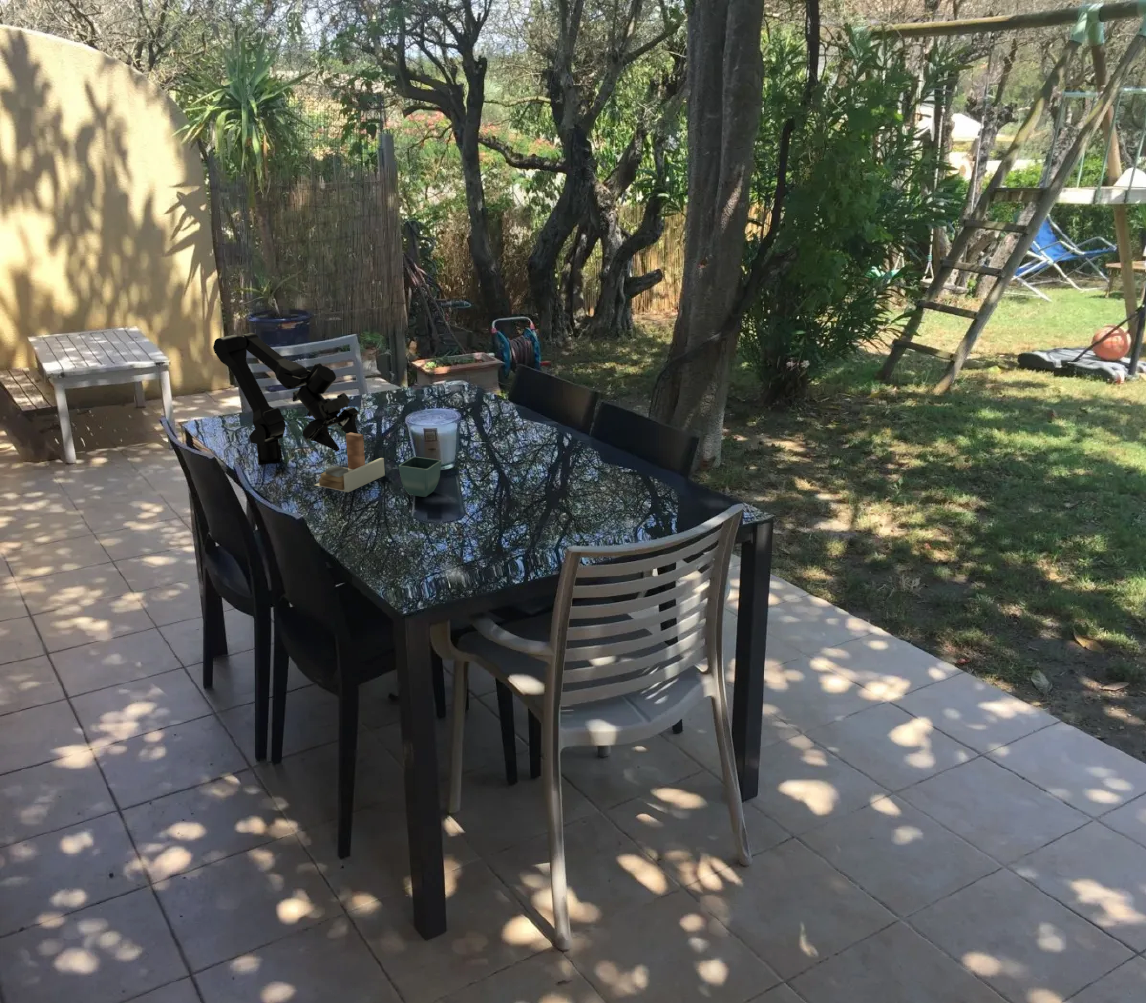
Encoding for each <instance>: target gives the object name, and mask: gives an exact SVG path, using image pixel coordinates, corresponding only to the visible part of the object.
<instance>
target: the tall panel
mask: <svg viewBox="0 0 1146 1003" xmlns="http://www.w3.org/2000/svg"><path fill="white" fill-rule="evenodd" d="M345 441H346V442H345V443H346V454H347V468H349V469H356V468H358V467H361V466H363V465H365V464H366V458H365V443H364V434H361V433H358V434H357V433H351V432H350V433H348V434H346V433H345Z"/></svg>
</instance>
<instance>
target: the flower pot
mask: <svg viewBox="0 0 1146 1003" xmlns="http://www.w3.org/2000/svg"><path fill="white" fill-rule="evenodd" d="M441 467H442V460H441V459H436V458H428V457H422V456H421V457H419V456H412V457H410V458H408V459H407V460H405V461H404V462H402V463H400V464H399V465H398V470H399V476H400V481H401V484H402V486H403V488H404V490H405V491H406V492H407V494H408V495H410V496H413V497H420V498H421V497H423V498H426V497H428V496H429V495H430V494H432V493H433V492H434V491H435V489H436V488H437V485H438V484H439V481H440V477H441Z"/></svg>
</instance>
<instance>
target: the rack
mask: <svg viewBox="0 0 1146 1003" xmlns="http://www.w3.org/2000/svg"><path fill="white" fill-rule="evenodd" d="M342 467H343V466H342ZM343 468H346V469H348V472H347V473H345V474H343V475H344V487H345V489H344V490H339V489H335V488H330V487H325V486H320V485H319V482H318V483H315V484H314V486H315V487H321V488H325V489H330V490H336V491H340V492H344V493H350V492H353V491H354V490H356V489H358V488H361V487H363V486H365V485H367V484H369V483H371V482H374V481H375V480H378V479H380V478H382V477H385V476H386V474H385V471H386V470H385V458H384V457H380V458H377V459H375V460H373V461H370V462H368V463H365V465H363V466H361V467H358V468H356V469H349V468H348V467H343Z"/></svg>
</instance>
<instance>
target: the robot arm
mask: <svg viewBox="0 0 1146 1003" xmlns="http://www.w3.org/2000/svg"><path fill="white" fill-rule="evenodd" d="M212 349H213V352H214V354H215V355H216V357H217V358H218V360H219V362H221V363H222V364H224V365H225V366H226V367H228V368H229V370H230V371H231V372H232V374H233V377H234V378H235V379H236V383H237V384H238V386H239V388H240V390H241V392H242V393H243V395H244V397H245V399H246V401H247V403H248V405H249V407H250V409H251V411H252V413H253V414H252V424H253V427H254V429H253V431H252V432H251V433H250V434H249V436H248V438H249V441H250V443H251V444H255V445H256V450H257V452H256V453H257V462H258V465H263V464H273V463H274V464H275V463H281V462H282V460H281V459H282V458H283V452H282V445H281V443H280V442H279V440H280V439H283V438H284V435H285V434H284V433H285V431H286V428H287V424H286V422H285V421H286V418H285V417H284V416H283V415H282V411H281V409H280V408H279V407H275V408H273V407H272V406H271V405H270V404H269V402H268V401H267V399H266V397H265V395H264V393H263V390H262V389H261V387H260V385H259V384H258V381H257V379H256V377H255V375H254V374H253V372H252V370H251V368H250V366H249V364H248V362H247V357H248V356H247V355H248V353H250V354H251V355H252V356H253V357H255V358H256V359H257V360H258V361H260V362H261V363H262V364H263V365H265V366H266V367H267V368H268V369H269V370H271V371H272V372H273V373H274V375H275V378H276V380H277V381H278V382H279V384H280V385H282V387H283V388H285V389H286V390H292V389H296V388H298V390H295V391H293V392H292V402H293V403H295V402H297V401H300V403H301V404H302V405H303V406H304V407H305V409H306V410H307V411H308V412H307V417H309V418H310V417H313V419H314V420H310V421H309V422H308V423H307V424H306V426H305V427H304V428H303V429H302V436H303V438H304V439H305V440H306V441H309V440H310V442H315V443H318V444H320V445H323V446H325V447H327V448H329V449H331V450H333V451H335V452H339V451H340V447H339V445H338V444H337V443H336V441H335V439H334V438H333V437H332V435H331V434H330V433H329V427H332V426H335V425H338V427H340V429H341V430H342V432H344V433H345V435H346V434H348V433H350V432H351V433H357V434H359V432H358V428H357V423H356V421H357V419H358V415H359V413H360V412H359V411H358V409H357V408H356V407H354V406H350V407H349V403H351V402H350V401H351V400H350V398H349V396H348V395H347V394H346V393H345V392H343V393H340V394H337V396H336V398H334V399H333V400H331V398H325V397H324V396H323V394H325V393H327V391H328V389H330V387H331V386H332V385H333V384H334V382H335V381H336V379H337V375H336V372H334V371H333V369H330V367H328V366H325V365H322V363H321V362H320V363H316V364H314V366H313V367H312V369H311V370H309V369H307V368H306V367H305V366H303V365H301V364H299V363H297V362H296V361H293V360H290V359H287V358H284V356H282V355H281V354H280V353H278V352H277V351H276V350H274V348H272V347H271V346H270V345H268V344H267V343H266V342H264V341H263V340H262V339H261V338H259V336H258V335H257V333H254V332H249V333H245V334H241V335H237V334H232V335H230V334H229V335H226V336H222V337H218V338H216V339H215V340H214V342H213V346H212ZM344 408H345V409H344ZM342 409H343V410H342ZM341 410H342V411H341Z"/></svg>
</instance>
